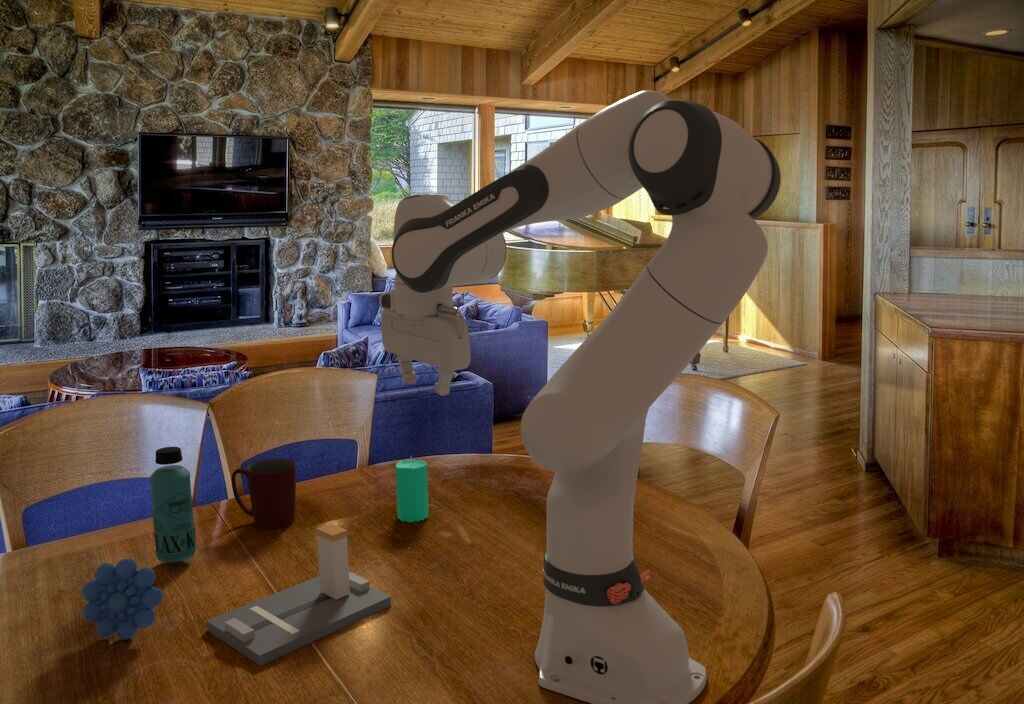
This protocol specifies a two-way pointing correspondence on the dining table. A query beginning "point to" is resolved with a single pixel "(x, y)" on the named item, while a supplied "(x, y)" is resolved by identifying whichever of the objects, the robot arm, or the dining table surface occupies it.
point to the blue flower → (121, 599)
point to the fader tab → (333, 561)
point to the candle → (412, 490)
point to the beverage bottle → (172, 508)
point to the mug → (269, 492)
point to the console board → (295, 618)
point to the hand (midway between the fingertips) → (425, 388)
